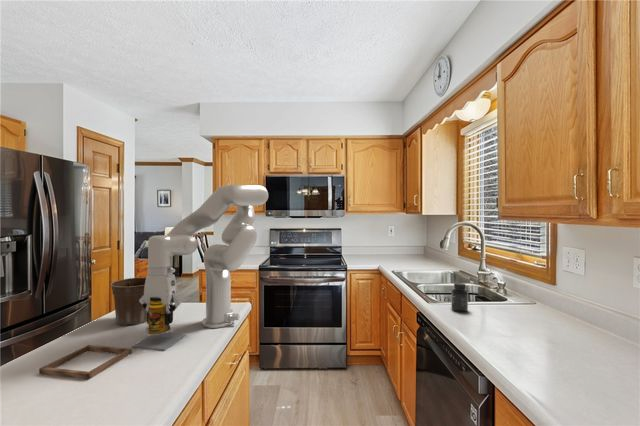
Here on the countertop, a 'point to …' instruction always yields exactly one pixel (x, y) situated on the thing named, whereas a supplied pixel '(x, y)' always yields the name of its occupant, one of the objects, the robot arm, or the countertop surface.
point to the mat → (159, 341)
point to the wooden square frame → (54, 371)
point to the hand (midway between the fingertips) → (159, 322)
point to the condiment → (157, 318)
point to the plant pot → (129, 301)
